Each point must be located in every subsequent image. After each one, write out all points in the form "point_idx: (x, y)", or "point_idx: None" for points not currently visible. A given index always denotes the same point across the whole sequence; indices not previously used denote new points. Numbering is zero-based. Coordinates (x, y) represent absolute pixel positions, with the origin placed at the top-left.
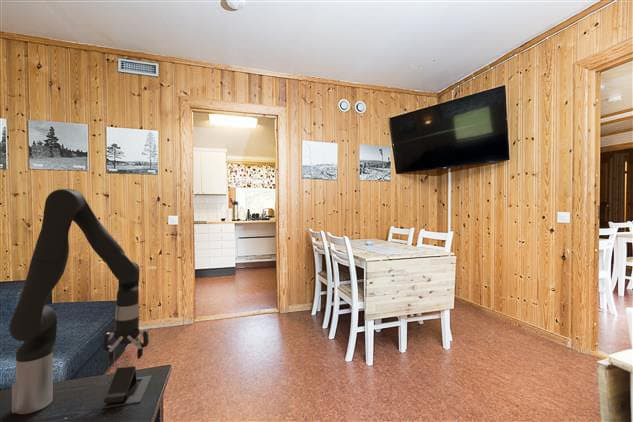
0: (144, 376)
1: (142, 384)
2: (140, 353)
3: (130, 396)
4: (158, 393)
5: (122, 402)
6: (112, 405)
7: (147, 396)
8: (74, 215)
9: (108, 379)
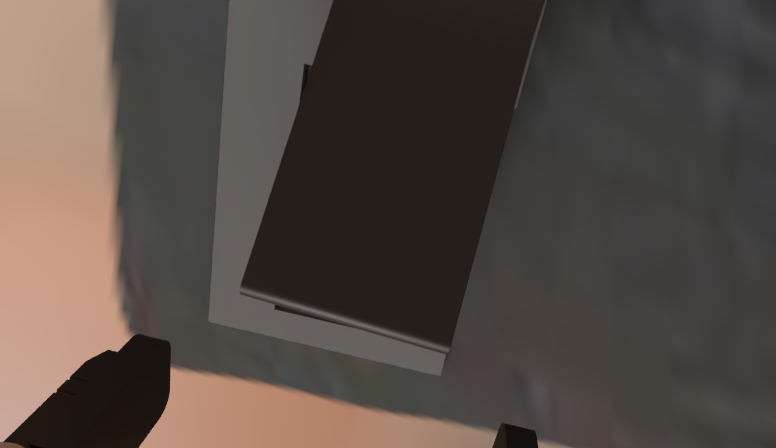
0: (262, 333)
1: (259, 216)
2: (81, 392)
3: None
4: (107, 12)
5: None
6: None
7: (193, 6)
8: None
9: None
